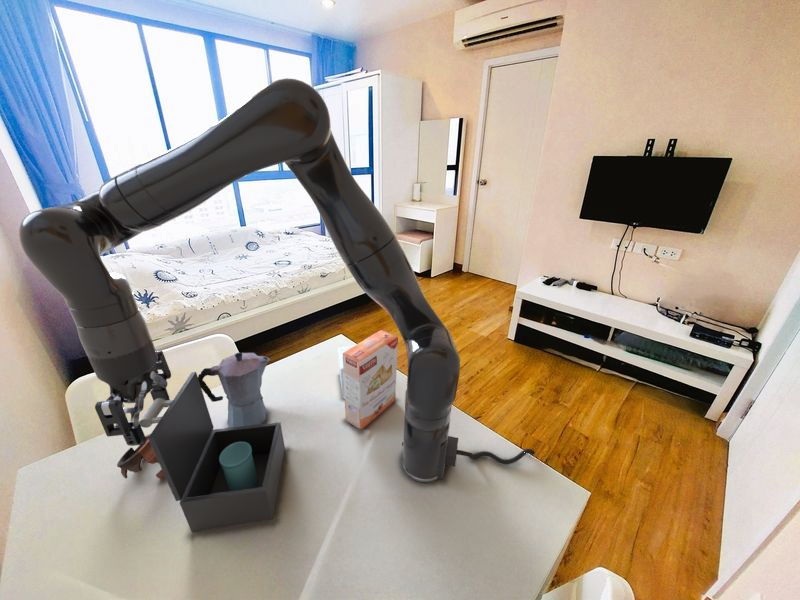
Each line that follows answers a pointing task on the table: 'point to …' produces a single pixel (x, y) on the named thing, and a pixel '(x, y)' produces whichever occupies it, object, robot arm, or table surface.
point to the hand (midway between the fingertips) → (152, 423)
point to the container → (239, 466)
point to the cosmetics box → (340, 359)
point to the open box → (208, 487)
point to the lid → (179, 433)
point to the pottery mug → (138, 459)
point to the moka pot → (240, 387)
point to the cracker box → (370, 378)
